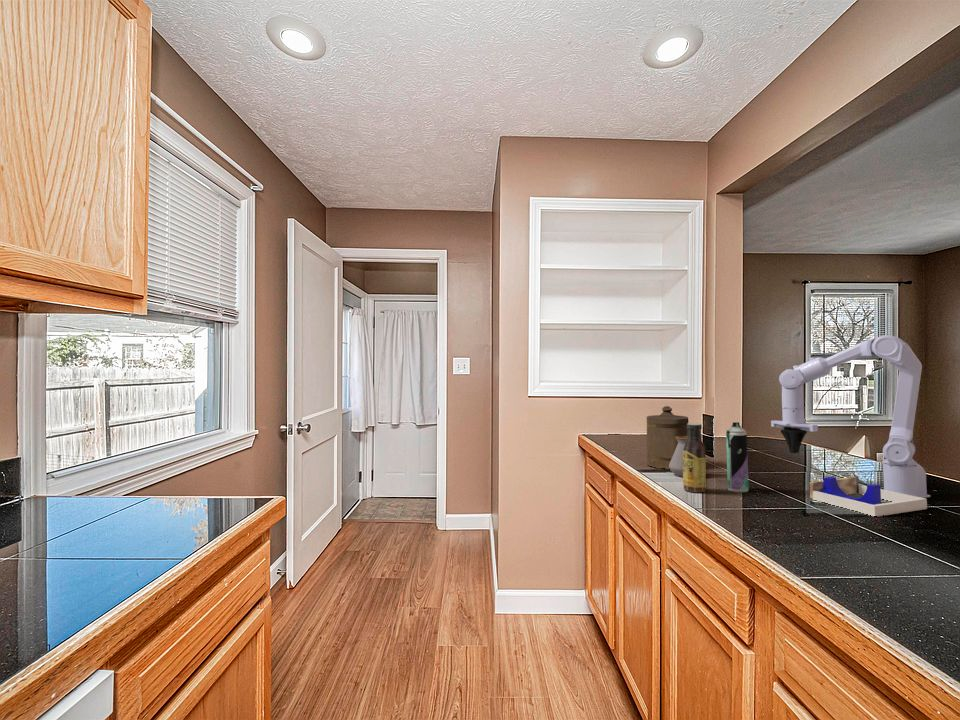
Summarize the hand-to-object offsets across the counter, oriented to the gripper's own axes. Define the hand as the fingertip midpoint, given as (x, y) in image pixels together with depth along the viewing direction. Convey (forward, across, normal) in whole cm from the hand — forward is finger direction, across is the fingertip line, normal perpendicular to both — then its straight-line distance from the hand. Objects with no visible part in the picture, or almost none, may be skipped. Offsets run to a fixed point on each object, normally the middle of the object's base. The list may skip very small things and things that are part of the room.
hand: (794, 452), depth 156 cm
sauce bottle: (+10, -4, -34) cm, 36 cm away
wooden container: (+10, -38, -17) cm, 43 cm away
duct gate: (+9, +15, -4) cm, 19 cm away
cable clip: (+10, +22, -7) cm, 25 cm away
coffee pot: (+10, -18, -24) cm, 32 cm away
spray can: (+10, 0, -22) cm, 24 cm away
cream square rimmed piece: (+9, +24, -4) cm, 26 cm away
